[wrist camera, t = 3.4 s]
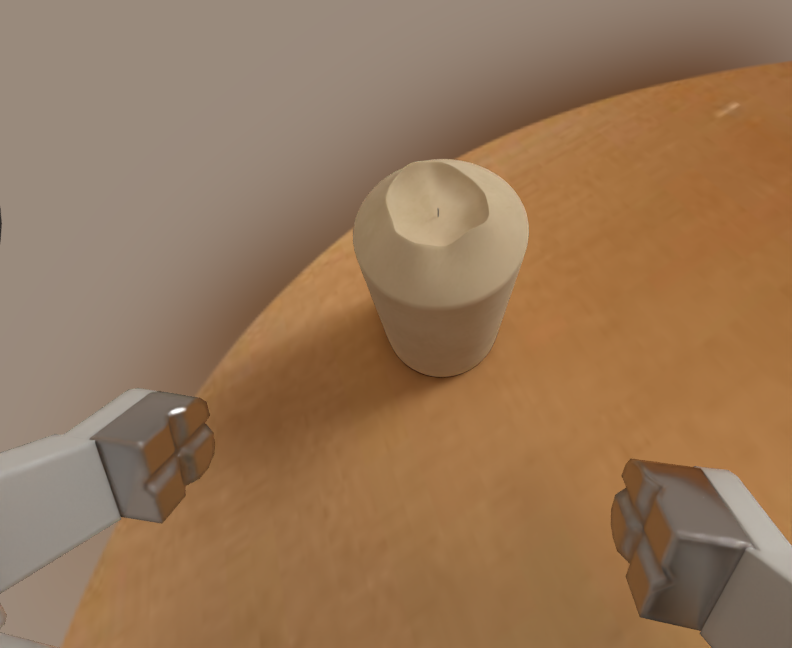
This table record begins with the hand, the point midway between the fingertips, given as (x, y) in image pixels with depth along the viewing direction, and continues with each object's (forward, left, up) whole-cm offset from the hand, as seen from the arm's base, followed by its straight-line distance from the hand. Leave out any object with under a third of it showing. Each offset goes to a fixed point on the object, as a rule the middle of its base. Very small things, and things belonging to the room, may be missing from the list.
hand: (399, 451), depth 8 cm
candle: (+2, +7, -11) cm, 13 cm away
